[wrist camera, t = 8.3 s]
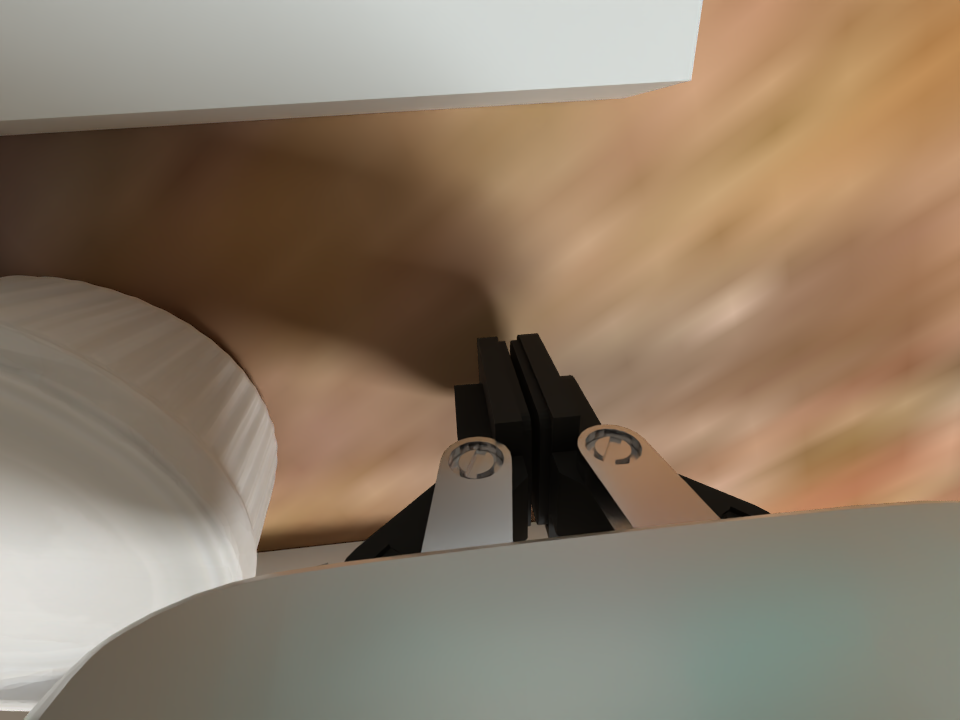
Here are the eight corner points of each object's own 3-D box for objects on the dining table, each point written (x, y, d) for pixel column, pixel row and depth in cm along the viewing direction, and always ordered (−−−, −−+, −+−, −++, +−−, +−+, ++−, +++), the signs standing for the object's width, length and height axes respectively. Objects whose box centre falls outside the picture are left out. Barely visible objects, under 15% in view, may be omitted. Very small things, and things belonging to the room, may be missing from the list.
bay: (-464, 74, 8) (-1018, 29, 5) (630, 18, 9) (727, -46, 6) (22, 606, 16) (-79, 717, 13) (585, 542, 17) (618, 630, 14)
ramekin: (77, 575, 16) (-77, 757, 11) (-226, 303, 11) (-757, 429, 6) (361, 504, 15) (326, 661, 11) (191, 186, 10) (-23, 219, 5)
